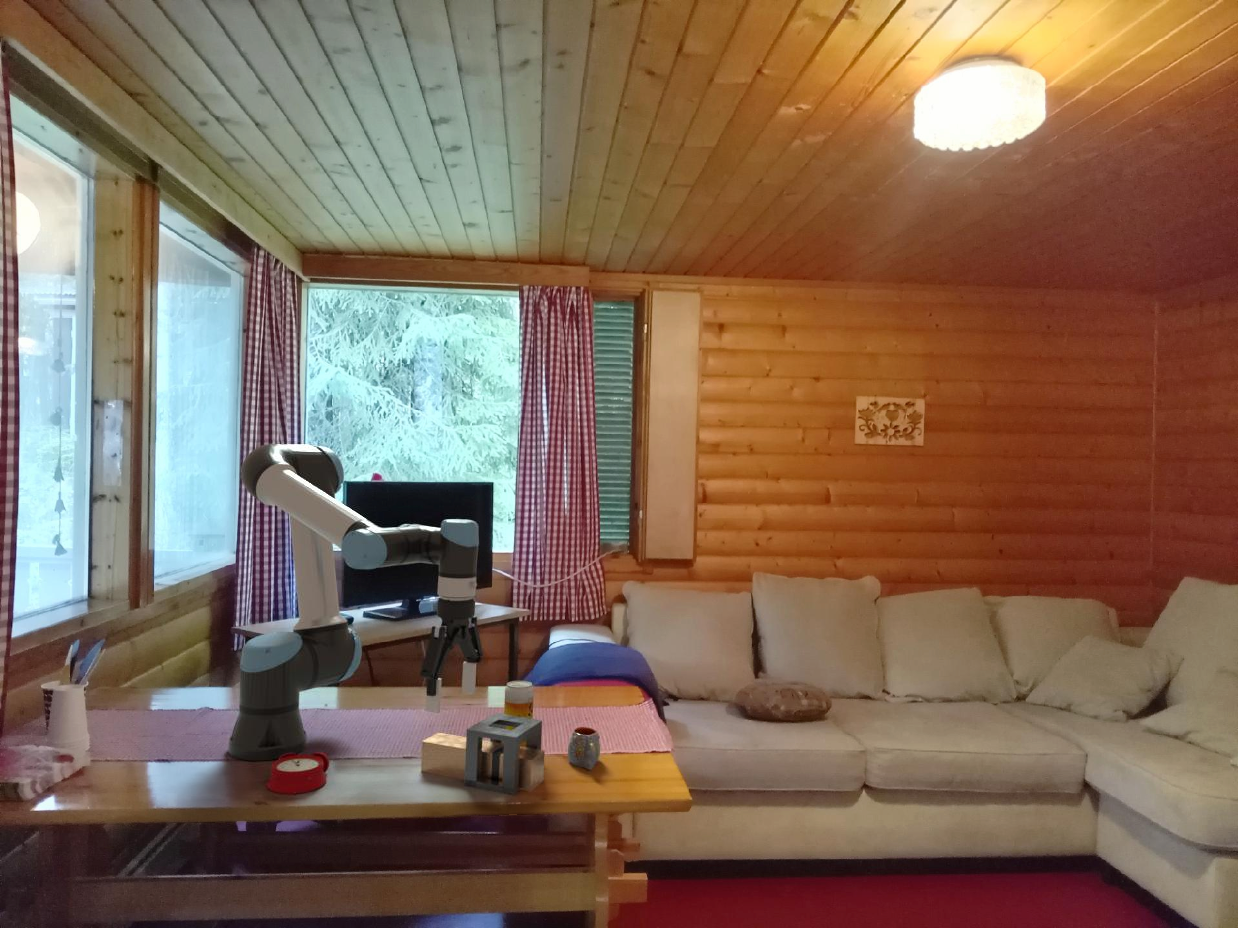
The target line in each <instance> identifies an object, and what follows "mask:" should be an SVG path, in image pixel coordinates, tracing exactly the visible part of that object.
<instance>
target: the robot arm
mask: <svg viewBox="0 0 1238 928" xmlns="http://www.w3.org/2000/svg"><path fill="white" fill-rule="evenodd" d="M340 459H341V458H340V457H339V456H338V455H337V453H336V452H334V451H333V450H332V449H330V448H328V447H325V446H320V445H316V444H282V443H281V444H280V443H268V444H263V445H260V446H258V447H256V448H254V449H253V450H252V451H251V452H249V453H248V454H247V456H246V457H245V459H244V460H243V461H242V462H243V463H242V464H241V469H240V477H241V481H242V484H243V486H244V488H245V490H246V491H247V492H248V493H249V494H250V495H251V496H252V497H253V498H255V500H257V501H259V502H260V503H262V504H264V505H267V506H276V507H277V508H279V509H280V510H282V511H283V512H285V513H286V514H288V515H289V525H290V535H291V536H290V537H291V543H292V555H293V566H294V576H295V578H294V579H295V587H296V589H295V590H296V597H297V607H298V618H299V619H298V621H297V622H296V624H295V625H294V626H293V627H292V631H278V632H269V633H264V634H259V635H257V636H254V637H253V638H251V639H249V640H248V641H247V642H246V643H245V644H244V645H243V647H242V649H241V656H240V662H239V667H240V678H239V679H240V680H239V701H238V702H239V705H238V706H239V709H238V714H237V718H236V720H235V723H234V726H233V730H232V733H231V735H230V737H229V739H228V749H227V750H228V751H227V752H228V754H229V756H231V757H232V758H235V759H238V760H242V761H271V760H279V758H280V757H281V756H282V755H284V754H286V753H295V754H297V755H298V753H300V752H302V751H304V750H305V749H306V747H307V732H306V730H305V729H304V723H303V720H302V716H301V713H300V693H301V692H305V691H309V690H313V689H316V688H320V687H324V686H327V685H329V686H330V685H335V684H338V683H339V682H341V681H346V680H348V678H350V677H352V676H353V675H354V673H355V671H356V670H357V669H358V667H359V665H360V663H361V658H362V649H363V648H362V642H361V640H360V637H359V636H358V635H357V633H356V631H355V630H354V629H352V628H349V624H348V623H349V622H348V619H347V618H345V617H344V616H343V615H342V614H341V613H340V606H339V605H340V603H339V594H338V593H339V592H338V584H337V575H336V566H335V553H334V545H335V546H336V547H337V548H340V551H341V557H342V559H343V560H344V561H345V564H346V566H348V567H350V568H351V569H354V570H373V569H374V570H375V569H376V568H377V569H378V568H385V567H391V566H392V567H393V566H401V565H410V564H411V565H412V564H418V563H423V564H431V565H437V566H438V582H437V592H436V593H437V595H438V596H439V597H438V598H437V599H436V601H437V602H436V616H437V617H438V618H440V619H441V624H440V626H439V625H432V626H431V631H430V639H429V643H428V644H427V648H426V652H425V656H424V659H423V661H422V662H423V663H422V666H421V669H420V672H419V676H420V677H421V678H424V679H426V692H425V693H426V698H425V699H426V701H425V712H429V713H434V714H438V713H440V712H441V698H442V679H443V678H440V676H441V673H442V671H443V668H444V667H445V665H446V662H447V659H448V657H449V655H450V652H451V650H453V649H454V648H455V646H457V645H458V646H459V648H460V650H461V652H462V655H463V657H464V659H465V661H463V663H462V677H461V679H462V680H461V694H462V695H463V694H464V695H467V696H469V695H470V696H474V695H476V678H477V663H480V664H481V663H482V661H483V659H482V658H483V656H484V651H483V648H482V647H483V646H482V642H481V639H480V634H479V629H478V616H475V615H476V613H475V612H476V599H475V598H474V597H475V595H476V593H477V592H476V591H477V590H476V589H477V586H478V583H477V575H478V574H477V566H478V564H477V563H478V555H479V545H480V540H479V539H480V537H479V524H478V523H477V521H474V520H471V519H461V518H456V519H455V518H453V519H452V518H451V519H450V518H449V519H444V520H442V522H441V523H440V527H436V526H428V525H422V524H419V523H412V524H411V523H404V524H401V525H399V526H397V527H380V526H379V525H376V524H375V523H373V522H371V521H370V520H368V519H367V518H365V517H363V516H362V515H360V514H359V513H357V512H356V511H355V510H352V509H351V508H350V507H348V506H346V505H344V504H343V503H342V502H340V501H339V500H336V494H337V493H338V492H339V491H340V490H341V489H342V487H343V486H342V485H343V483H344V480H345V474H344V473H345V470H344V466H343V463H342V461H341V460H340Z"/></svg>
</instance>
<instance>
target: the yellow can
mask: <svg viewBox="0 0 1238 928" xmlns="http://www.w3.org/2000/svg"><path fill="white" fill-rule="evenodd" d="M534 692H535V689H534V686H533V683H532V682H531V681H526V680H512V681H509V682H507V683H506V687H505V688H504V706H503V708H504V709H503V714H505V715H511V716H518V717H524V718H530V719H534V715H533V714H534ZM515 728H517V727H512V726H506V729H507V730H514V729H515ZM520 746H521V747H526V740H525V741H524V742H522V743H521V744H520Z"/></svg>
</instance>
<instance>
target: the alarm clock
mask: <svg viewBox="0 0 1238 928" xmlns="http://www.w3.org/2000/svg"><path fill="white" fill-rule="evenodd" d="M329 767H330V760H329V757H328V756H327V754H326V753H324V752H320V751H317V752H314V753H313V754H311V755H310V754H299V755H298V753H297V754H295V753H286V754H284V755H282V756H281V757H280V758H279V759H276V760H275V761H274V762H273V763H272V765H271V768H270V769H271V770H270V771H271V772H270V773H271V775H270V776H269V779H268V781H267V782H266V783H267V785H266V786H267V789H268V790H270V791H271V792H273V793H279V794H287V796H294V794H302V793H308V792H312V791H314V790H317V789H320V788H322V787H323V786H324V785H325V784H326V783H327V776H326V774H325V773H326V772H327V771H328V769H329Z"/></svg>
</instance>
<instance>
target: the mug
mask: <svg viewBox="0 0 1238 928" xmlns="http://www.w3.org/2000/svg"><path fill="white" fill-rule="evenodd" d="M600 738H601V735H600V733H599V732H598V730H596V729H594V728H592V727H588V726H587V727H586V726H578V727H576V728H574V729H573V730H572V733H571V736H570V737H569V742H568V746H567V759H568V761H569V763H570V764H572V765H573V766H576V767H581V768H585V769H587V770H590V771H591V770H593V768H594V767H595V765H597V763H598V762H599V760H600V756H601V744H600Z"/></svg>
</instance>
